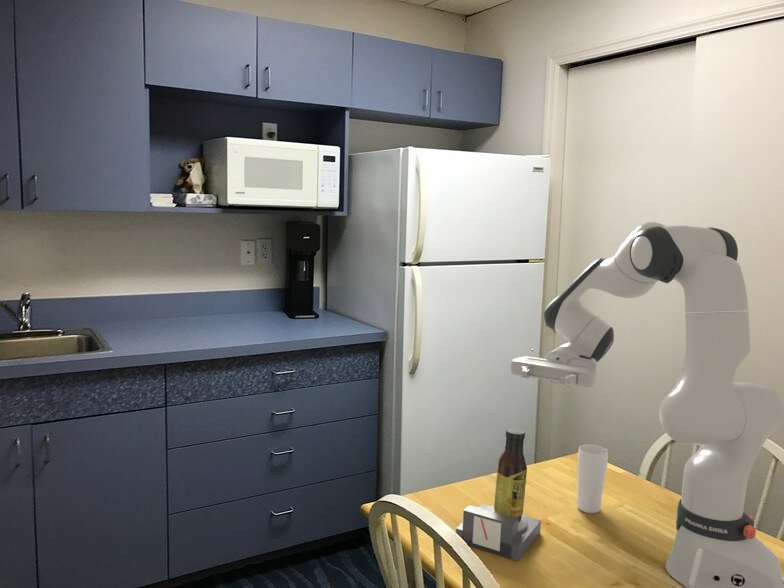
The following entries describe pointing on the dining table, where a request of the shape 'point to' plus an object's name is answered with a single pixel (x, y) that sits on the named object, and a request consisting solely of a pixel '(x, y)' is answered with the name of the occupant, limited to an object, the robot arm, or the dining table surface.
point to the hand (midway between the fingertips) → (543, 378)
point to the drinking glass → (591, 477)
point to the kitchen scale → (498, 531)
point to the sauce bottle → (511, 476)
